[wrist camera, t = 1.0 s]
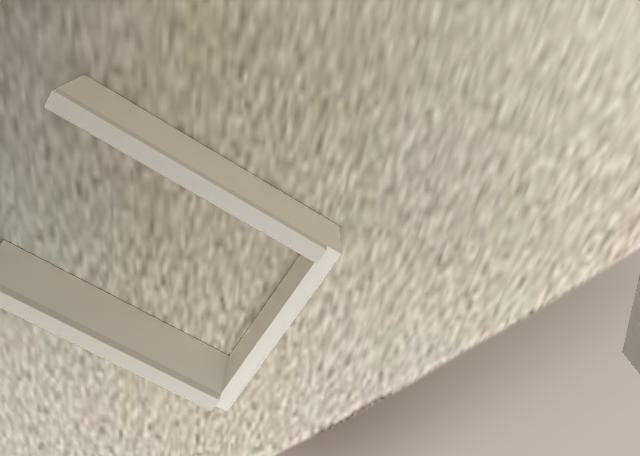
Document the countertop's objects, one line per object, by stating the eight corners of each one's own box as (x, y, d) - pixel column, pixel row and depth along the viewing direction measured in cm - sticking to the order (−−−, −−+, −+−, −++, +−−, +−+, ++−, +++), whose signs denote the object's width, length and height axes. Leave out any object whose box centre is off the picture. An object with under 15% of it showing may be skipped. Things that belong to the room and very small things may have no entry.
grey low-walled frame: (-2, 252, 38) (-41, 287, 34) (84, 74, 34) (51, 89, 30) (234, 372, 42) (225, 418, 38) (339, 226, 38) (342, 258, 34)
